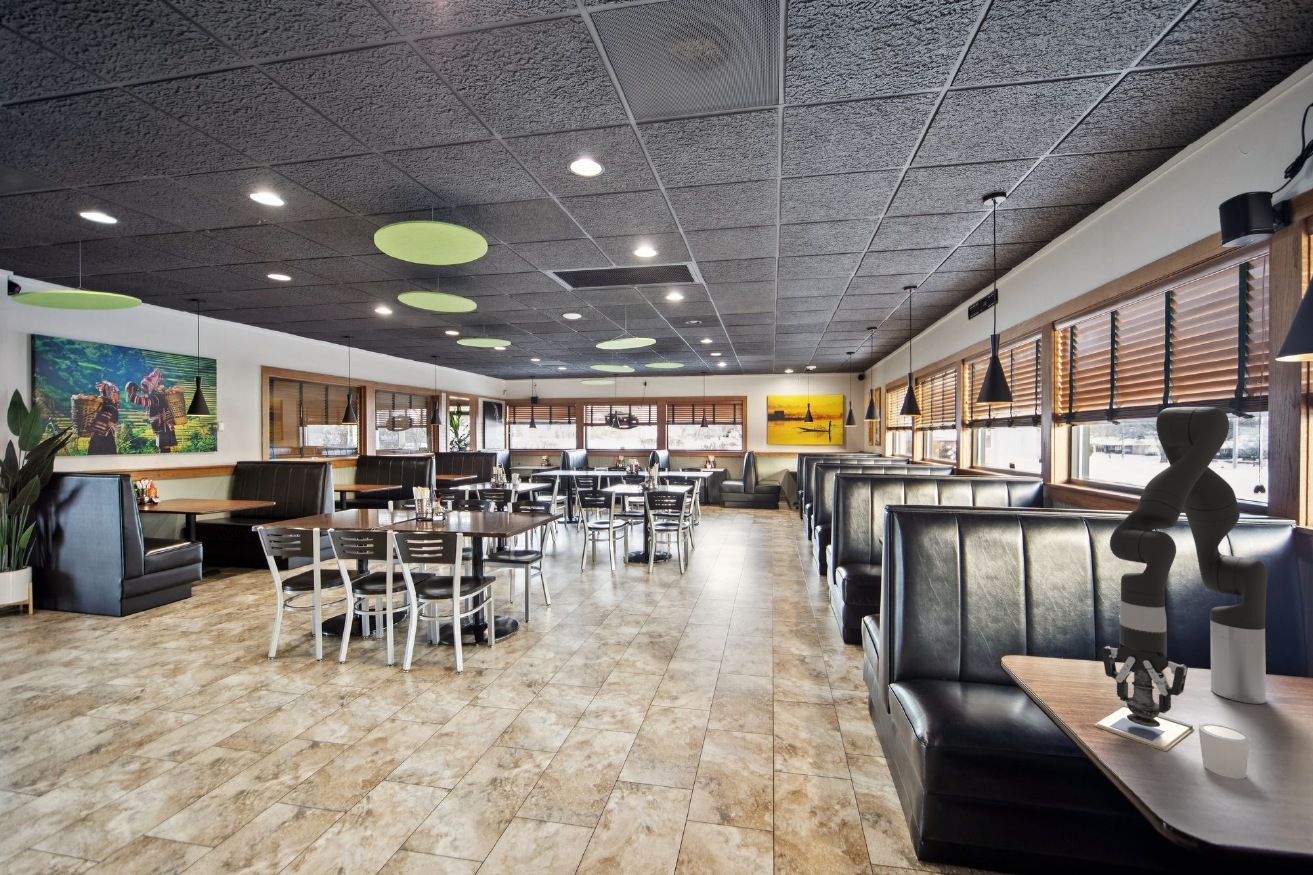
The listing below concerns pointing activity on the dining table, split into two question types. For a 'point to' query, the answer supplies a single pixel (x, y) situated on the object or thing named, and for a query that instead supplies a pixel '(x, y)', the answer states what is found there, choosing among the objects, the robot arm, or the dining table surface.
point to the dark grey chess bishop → (1143, 701)
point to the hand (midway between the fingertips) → (1143, 705)
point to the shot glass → (1224, 750)
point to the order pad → (1146, 729)
